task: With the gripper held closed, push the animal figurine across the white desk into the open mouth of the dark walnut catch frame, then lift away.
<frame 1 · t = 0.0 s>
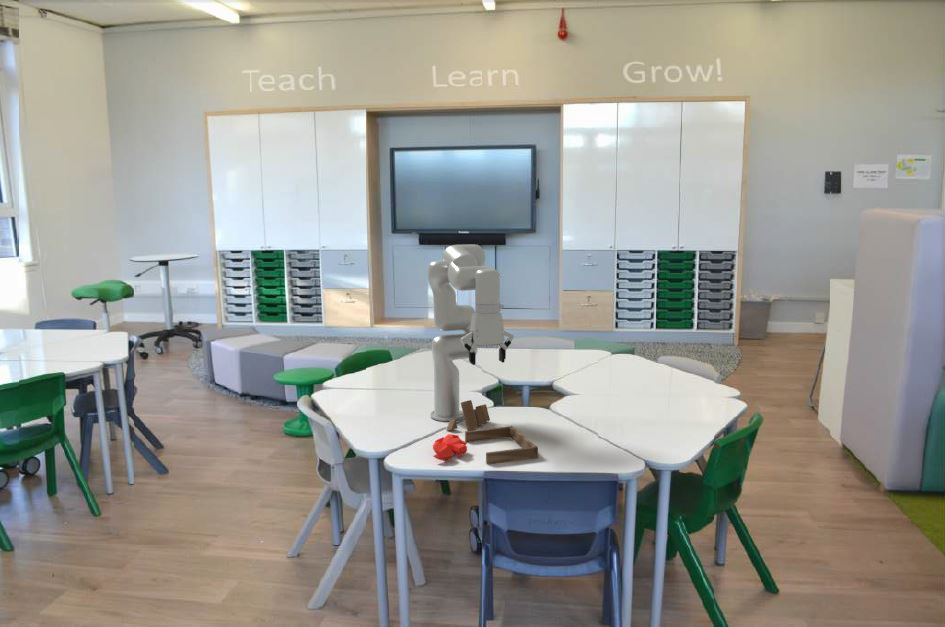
hand: (487, 362, 219), 31 cm above the table, tool pointing down, fingers open, 9 cm apart
catch frame: (498, 449, 231), on the table
wooden block set: (471, 428, 254), on the table
animal figurine: (449, 456, 226), on the table
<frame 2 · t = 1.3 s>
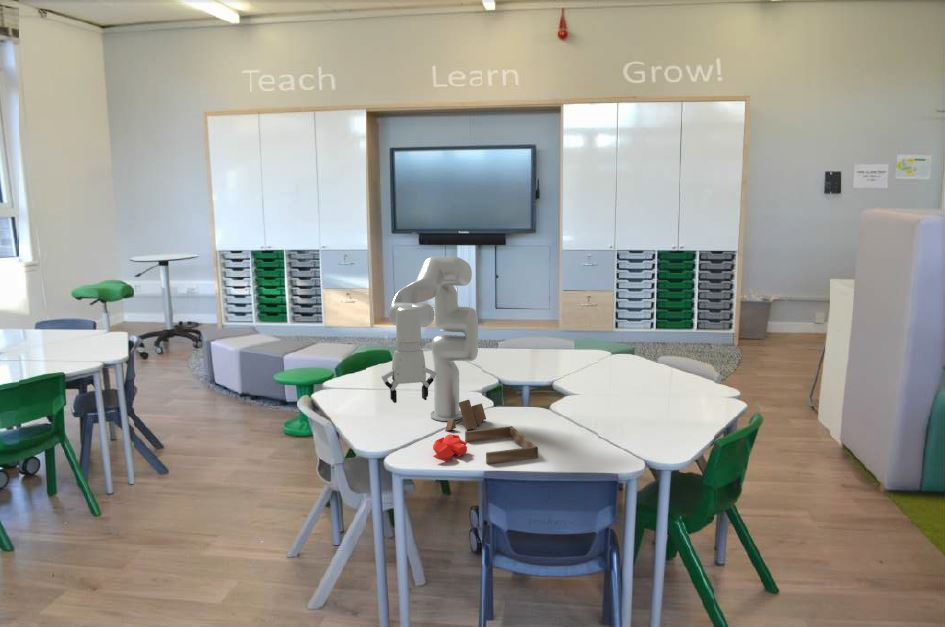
hand: (409, 400, 217), 20 cm above the table, tool pointing down, fingers open, 9 cm apart
wooden block set: (469, 427, 254), on the table
everything else where it was.
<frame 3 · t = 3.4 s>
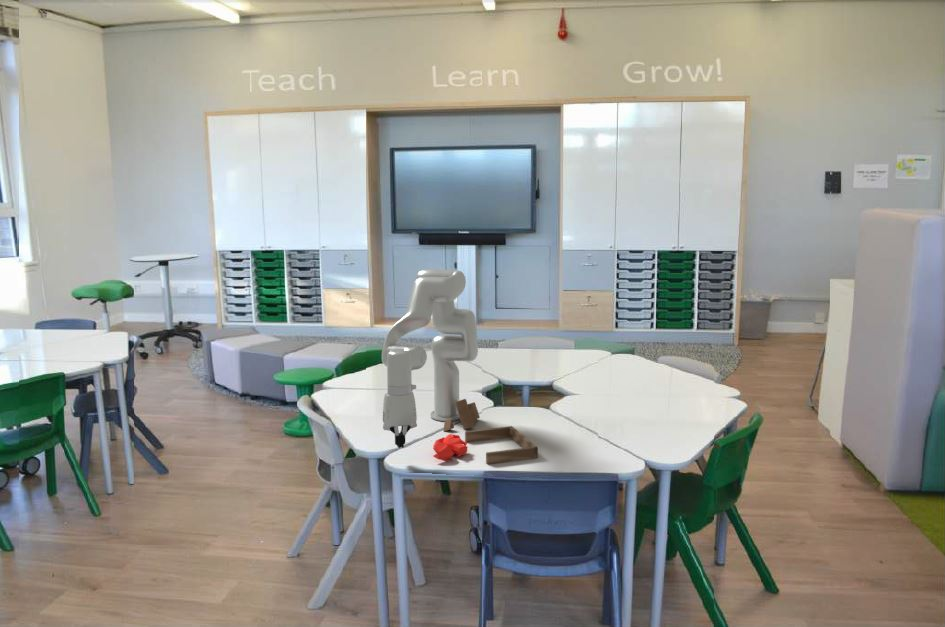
hand: (400, 446, 219), 5 cm above the table, tool pointing down, fingers closed
wooden block set: (465, 427, 255), on the table
everything else where it was.
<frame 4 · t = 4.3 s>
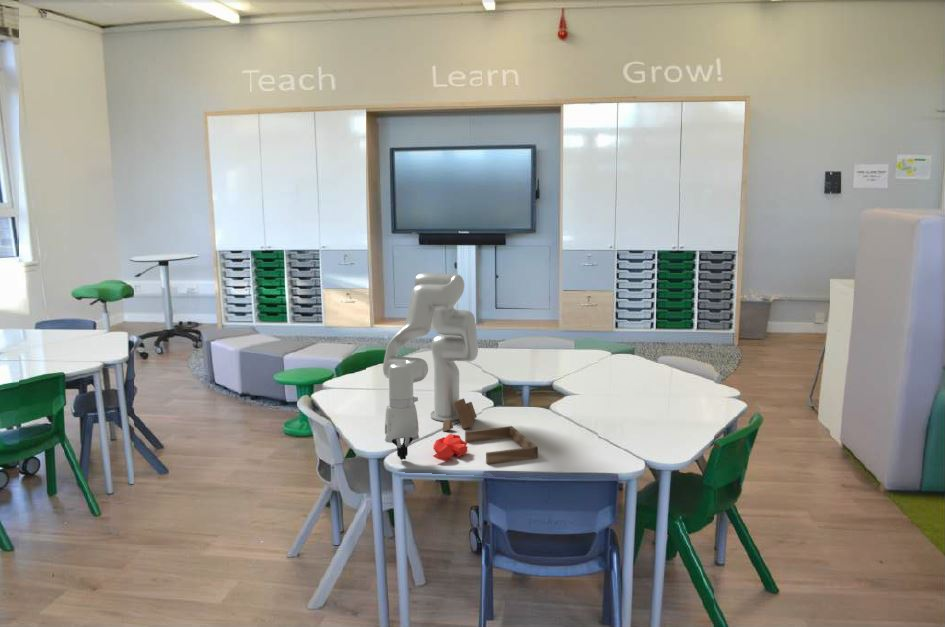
hand: (402, 458, 221), 1 cm above the table, tool pointing down, fingers closed
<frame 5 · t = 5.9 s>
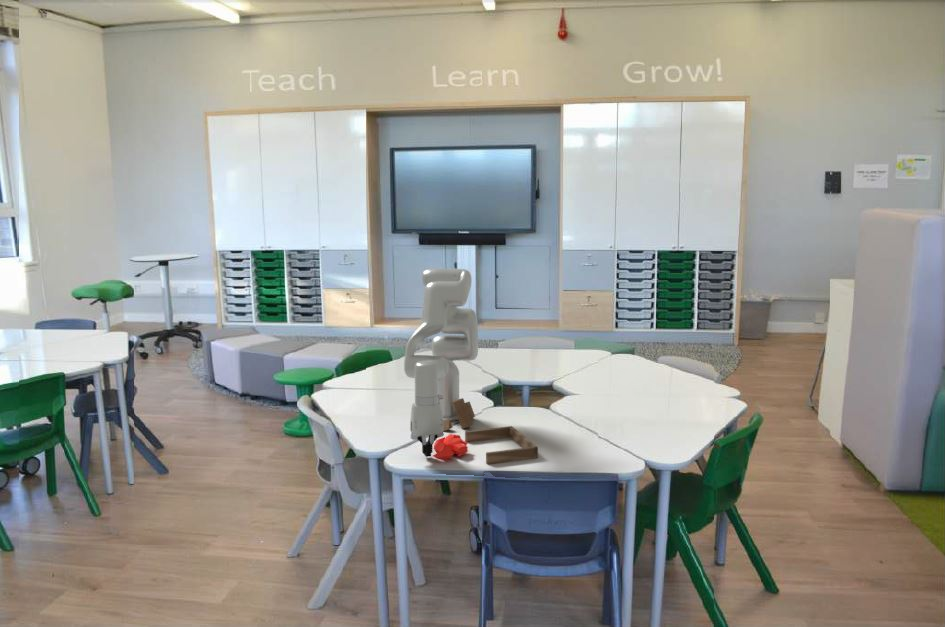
hand: (427, 455, 223), 1 cm above the table, tool pointing down, fingers closed
animal figurine: (450, 456, 226), on the table, touching gripper
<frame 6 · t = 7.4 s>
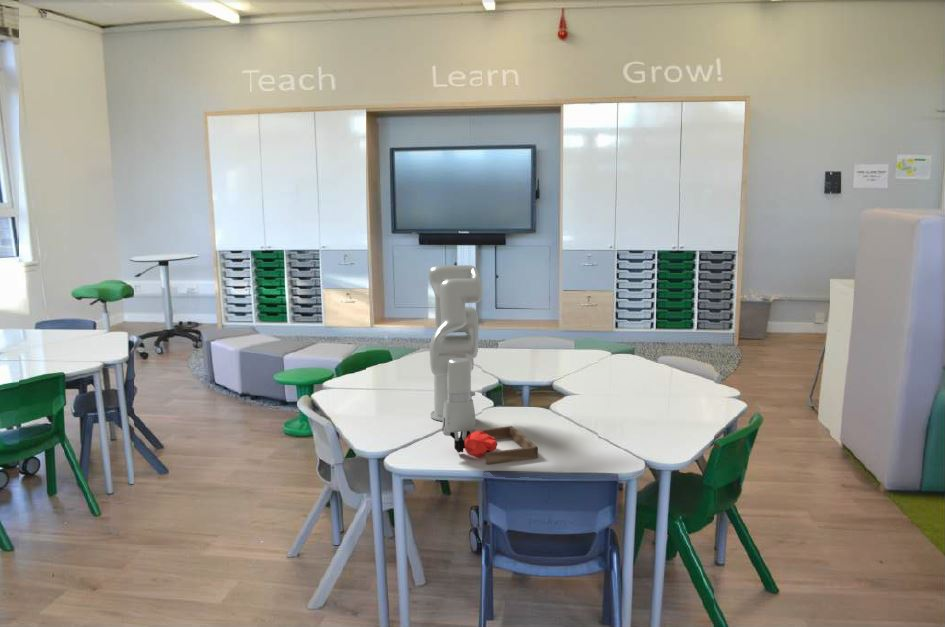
hand: (459, 450, 226), 1 cm above the table, tool pointing down, fingers closed
animal figurine: (480, 452, 229), on the table, touching gripper
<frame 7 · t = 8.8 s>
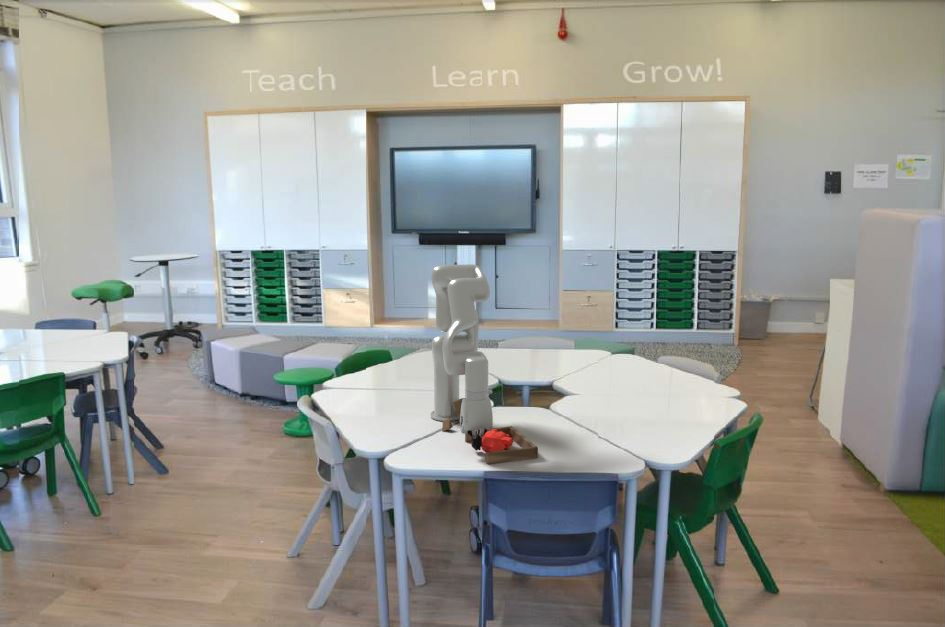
hand: (476, 448, 228), 1 cm above the table, tool pointing down, fingers closed
animal figurine: (496, 450, 231), on the table, touching gripper
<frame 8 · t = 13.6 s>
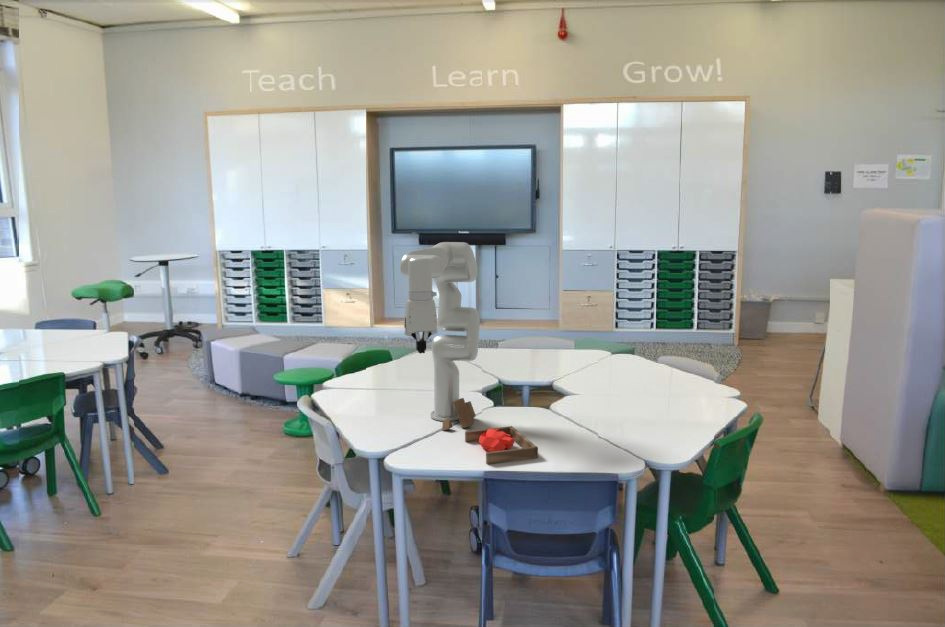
hand: (421, 352, 225), 33 cm above the table, tool pointing down, fingers closed
animal figurine: (497, 450, 231), on the table
at the end: animal figurine inside the target area on the catch frame (2.6 cm from its centre), point 0.0 cm above the catch frame's base; animal figurine tilted 0° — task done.
